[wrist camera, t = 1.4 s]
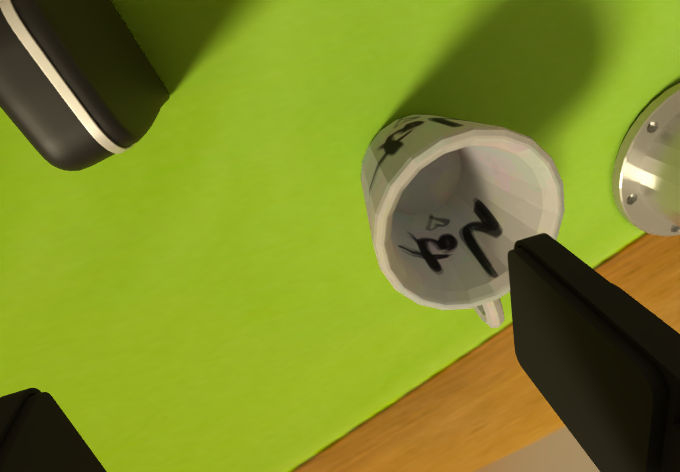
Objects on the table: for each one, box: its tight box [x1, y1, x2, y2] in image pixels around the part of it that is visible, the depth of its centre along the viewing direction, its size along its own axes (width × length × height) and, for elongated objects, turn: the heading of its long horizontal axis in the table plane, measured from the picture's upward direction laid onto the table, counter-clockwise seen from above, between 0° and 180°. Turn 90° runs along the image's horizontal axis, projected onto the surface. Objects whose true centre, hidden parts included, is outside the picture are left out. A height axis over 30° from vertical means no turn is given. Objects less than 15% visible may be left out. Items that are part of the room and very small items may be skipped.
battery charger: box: [0, 0, 169, 171], centre depth 22 cm, size 7×4×11 cm, turn 25°
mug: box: [361, 115, 564, 328], centre depth 30 cm, size 10×15×10 cm
